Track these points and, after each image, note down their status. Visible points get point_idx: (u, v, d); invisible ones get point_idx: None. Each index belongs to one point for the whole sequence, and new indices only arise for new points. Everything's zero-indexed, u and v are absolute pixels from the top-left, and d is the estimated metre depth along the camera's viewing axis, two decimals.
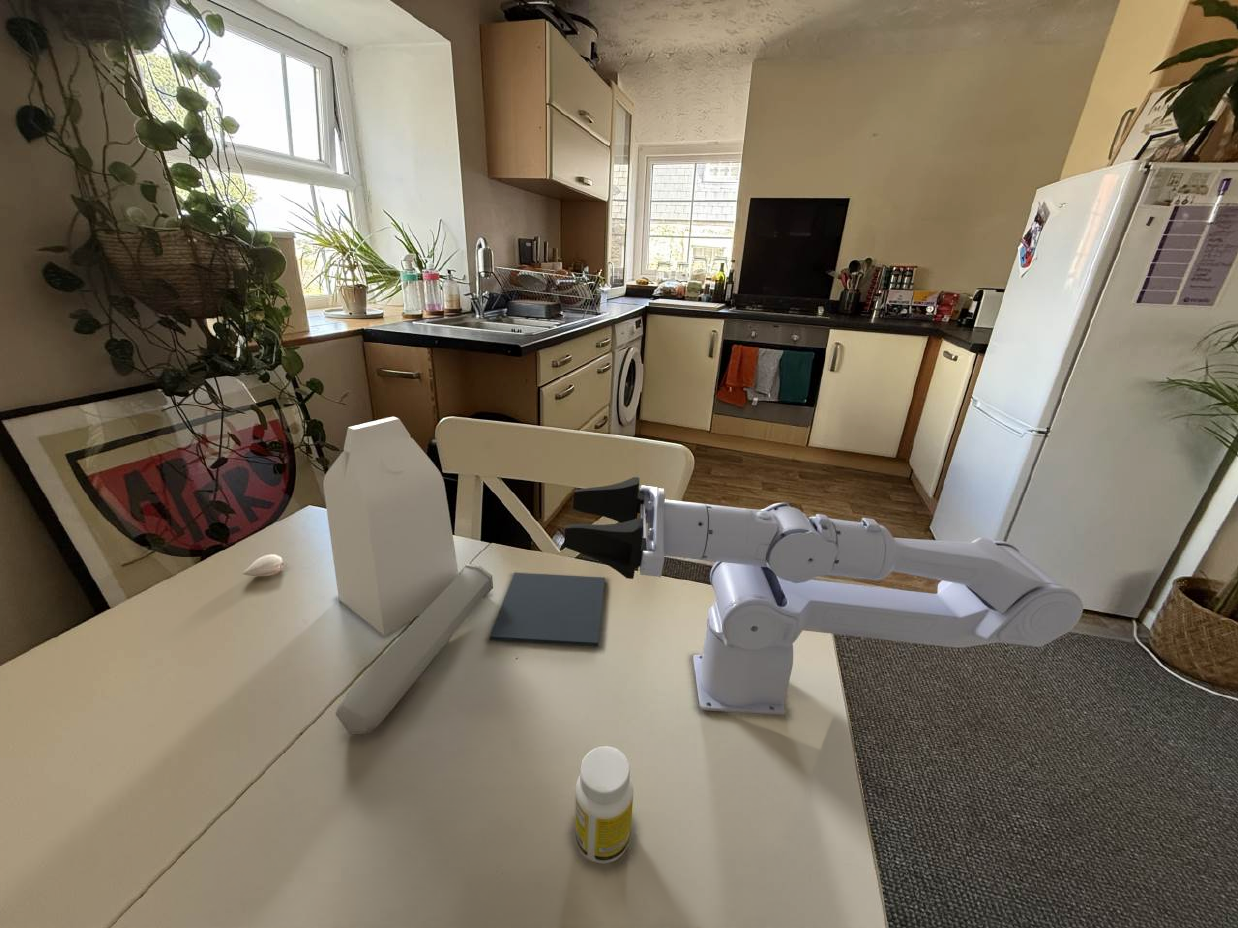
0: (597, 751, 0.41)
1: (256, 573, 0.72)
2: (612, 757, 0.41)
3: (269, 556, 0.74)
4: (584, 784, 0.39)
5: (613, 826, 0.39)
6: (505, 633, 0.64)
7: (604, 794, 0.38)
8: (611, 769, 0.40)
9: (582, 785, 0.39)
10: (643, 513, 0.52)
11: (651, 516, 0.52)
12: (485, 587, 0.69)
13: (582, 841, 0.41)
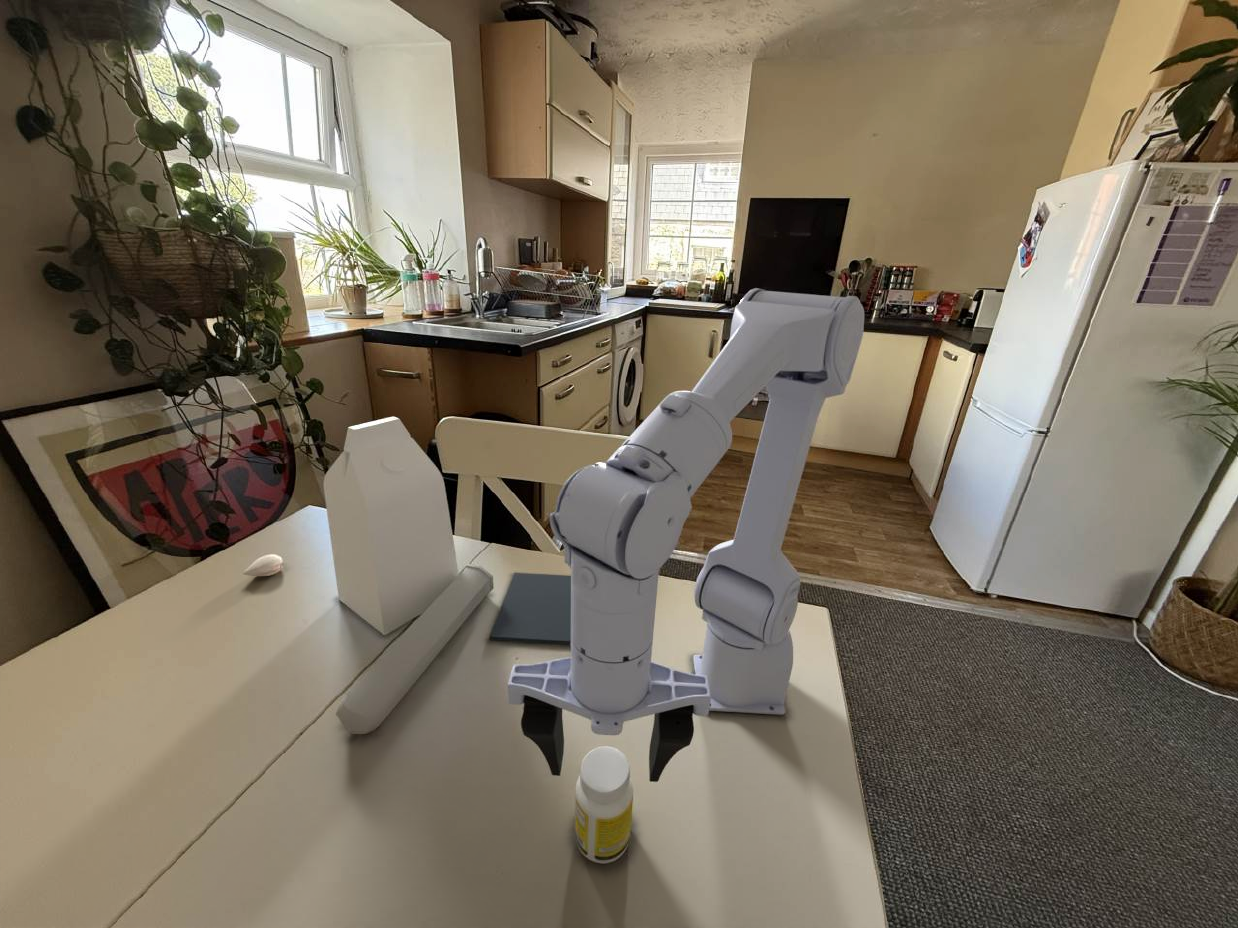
0: (597, 751, 0.41)
1: (256, 573, 0.72)
2: (612, 757, 0.41)
3: (269, 556, 0.74)
4: (584, 784, 0.39)
5: (613, 826, 0.39)
6: (505, 633, 0.64)
7: (604, 794, 0.38)
8: (611, 769, 0.40)
9: (582, 785, 0.39)
10: None
11: None
12: (486, 587, 0.69)
13: (581, 841, 0.41)
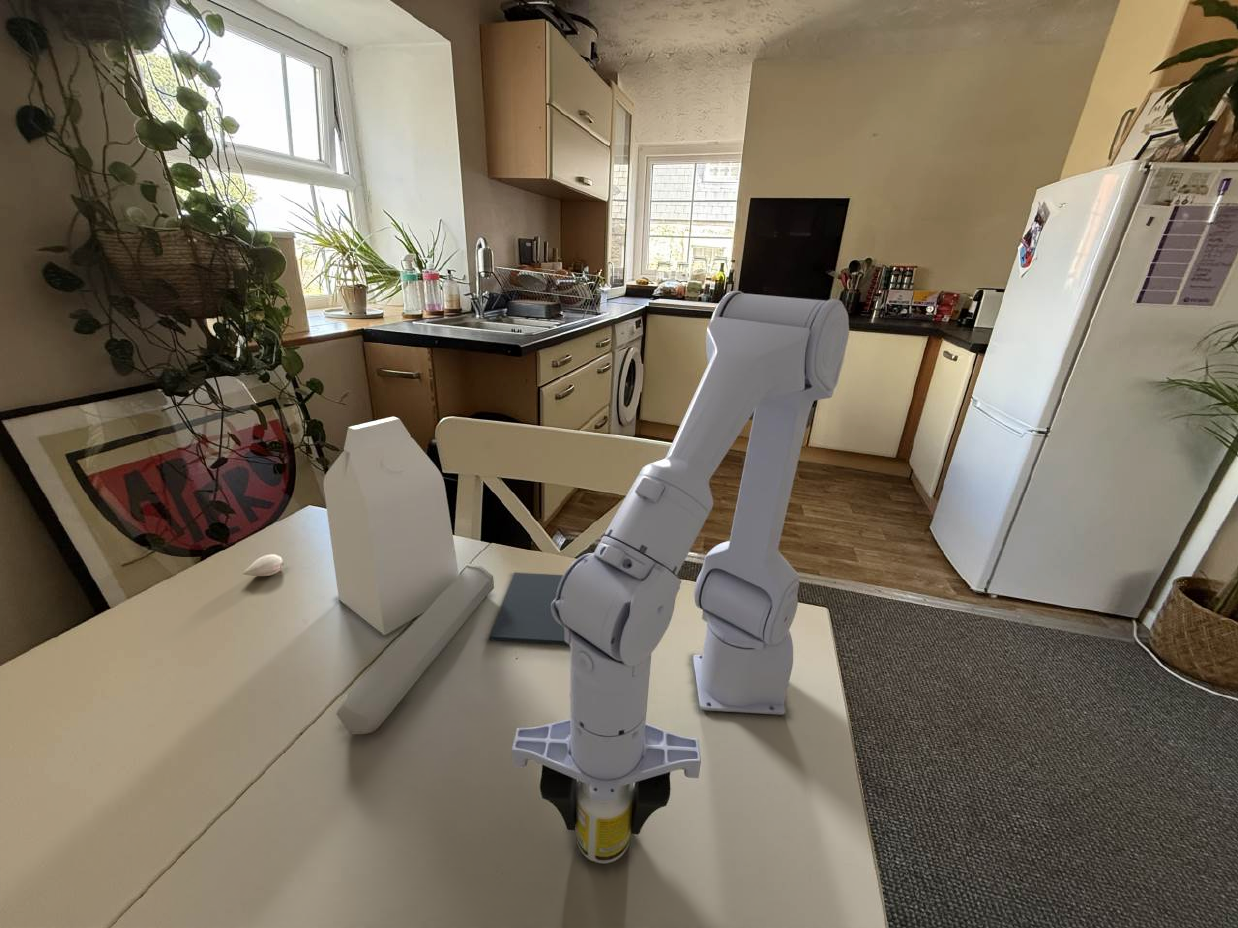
0: None
1: (256, 573, 0.72)
2: None
3: (269, 556, 0.74)
4: (584, 784, 0.39)
5: (613, 826, 0.39)
6: (505, 633, 0.64)
7: None
8: None
9: (582, 785, 0.39)
10: None
11: None
12: (486, 588, 0.69)
13: (582, 841, 0.41)
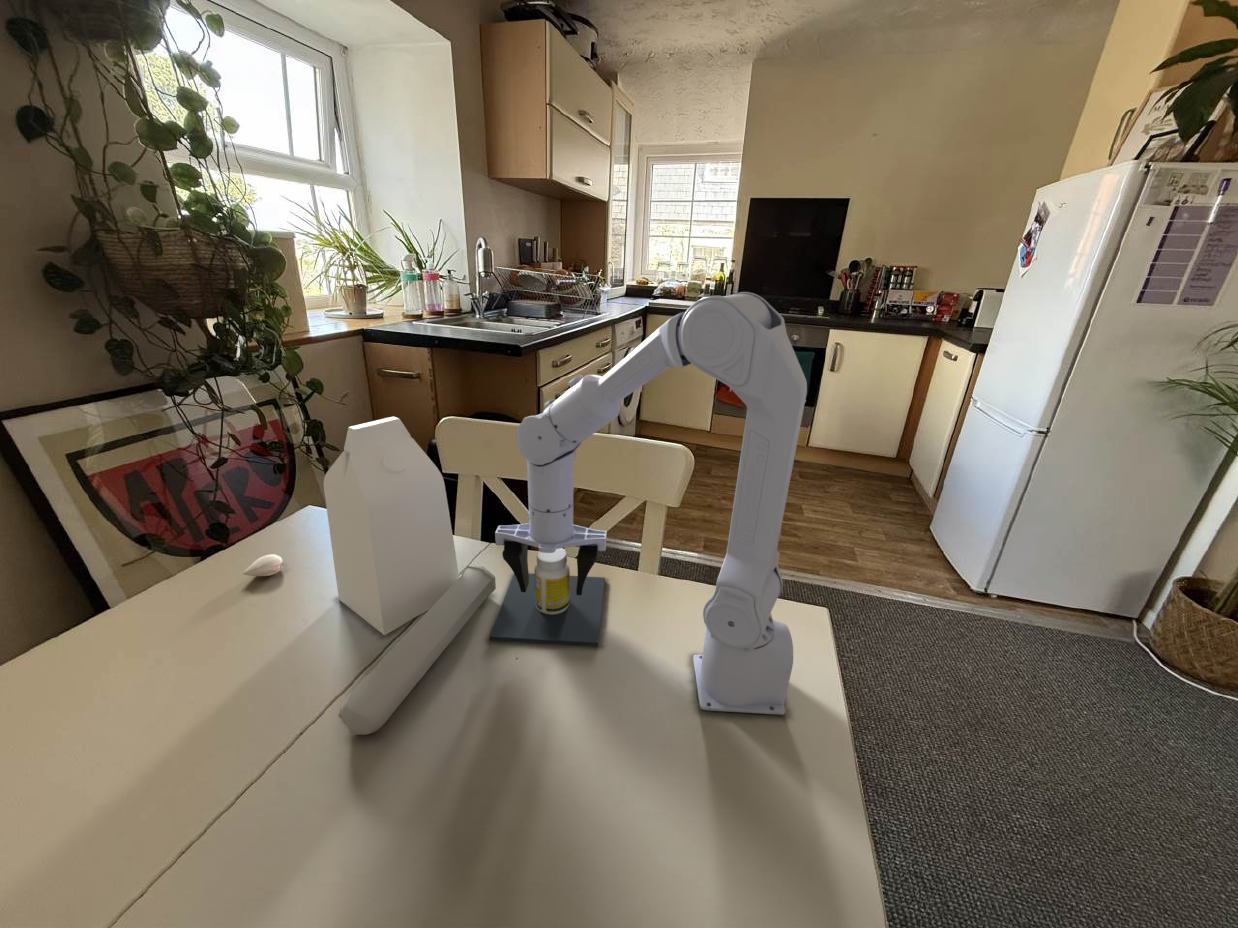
0: None
1: (256, 573, 0.72)
2: (556, 550, 0.67)
3: (269, 556, 0.74)
4: (538, 559, 0.66)
5: (555, 586, 0.66)
6: (505, 633, 0.64)
7: (550, 563, 0.65)
8: (555, 554, 0.67)
9: (537, 561, 0.66)
10: None
11: None
12: (488, 588, 0.69)
13: (538, 601, 0.68)
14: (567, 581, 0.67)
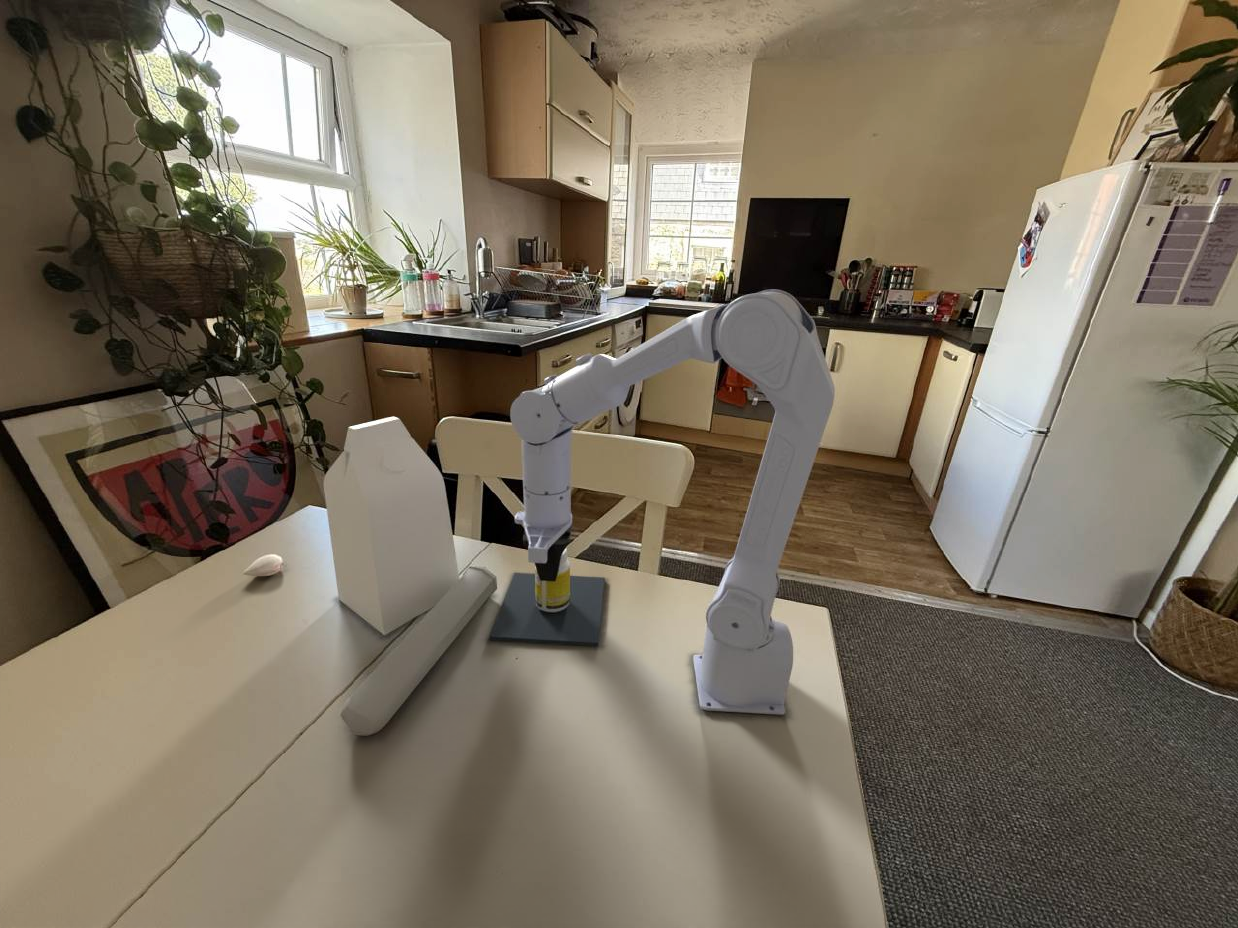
0: None
1: (256, 573, 0.72)
2: None
3: (269, 556, 0.74)
4: None
5: (556, 582, 0.66)
6: (505, 633, 0.64)
7: None
8: None
9: None
10: None
11: None
12: (489, 588, 0.69)
13: (538, 598, 0.68)
14: (567, 578, 0.67)
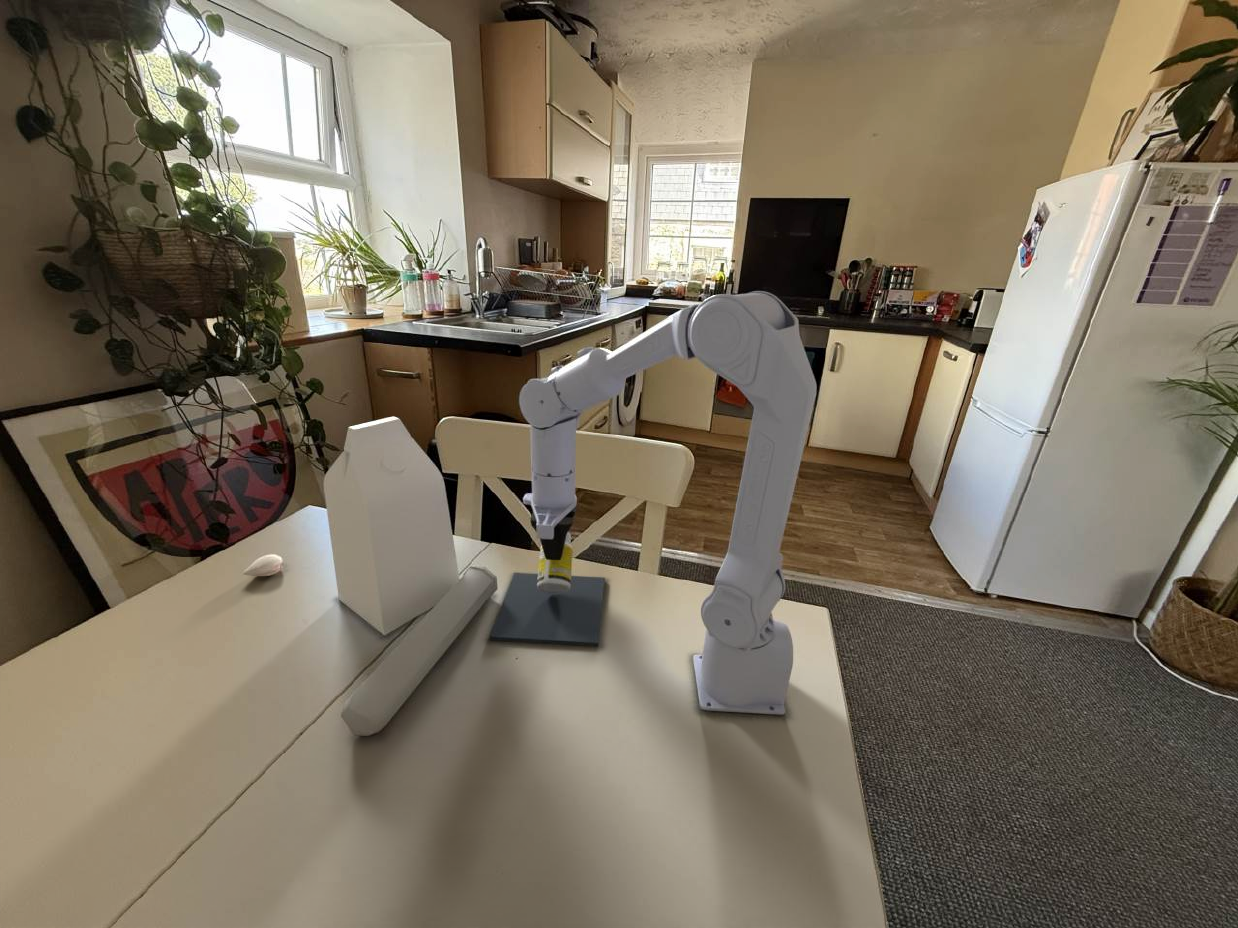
0: None
1: (256, 573, 0.72)
2: None
3: (269, 556, 0.74)
4: None
5: None
6: (505, 633, 0.64)
7: None
8: None
9: None
10: None
11: None
12: (490, 588, 0.69)
13: (541, 572, 0.70)
14: (570, 555, 0.72)
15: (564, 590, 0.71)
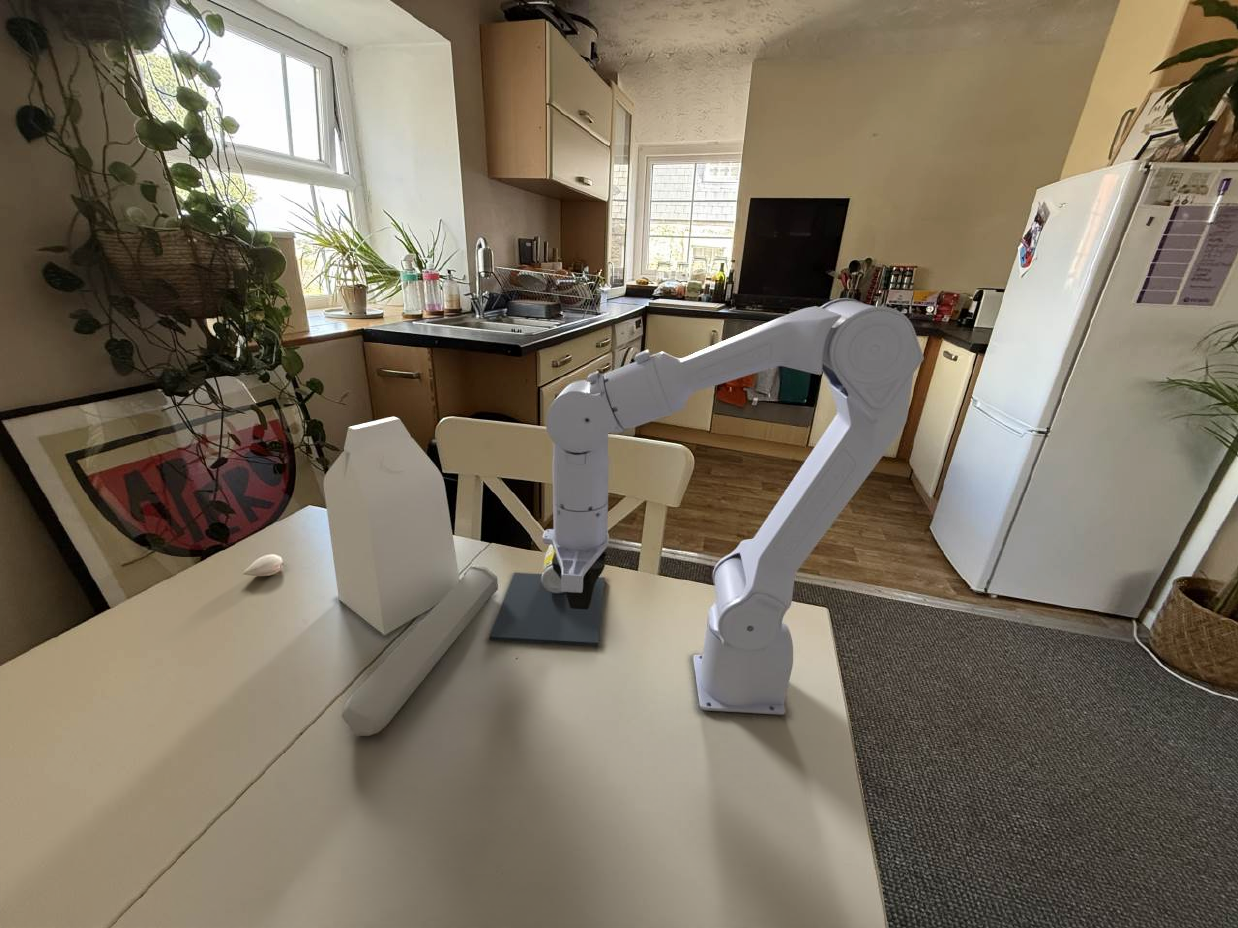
0: None
1: (256, 573, 0.72)
2: None
3: (269, 556, 0.74)
4: None
5: None
6: (505, 633, 0.64)
7: None
8: None
9: None
10: None
11: None
12: (490, 588, 0.69)
13: (549, 562, 0.72)
14: None
15: None
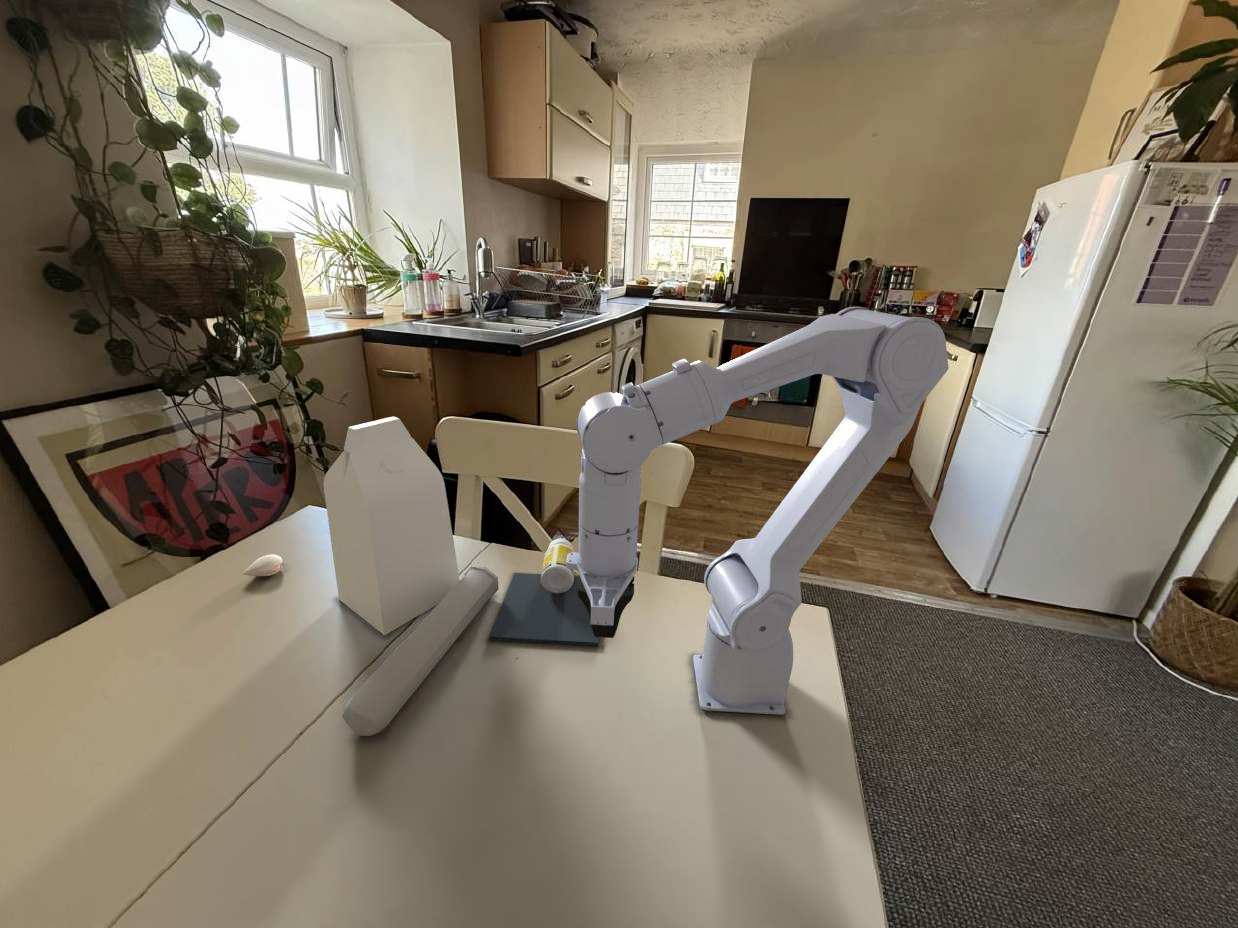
0: None
1: (256, 573, 0.72)
2: None
3: (269, 556, 0.74)
4: (551, 542, 0.78)
5: (567, 550, 0.75)
6: (505, 633, 0.64)
7: (563, 539, 0.78)
8: None
9: (550, 544, 0.77)
10: None
11: None
12: (491, 589, 0.69)
13: (548, 562, 0.72)
14: None
15: (566, 587, 0.72)
